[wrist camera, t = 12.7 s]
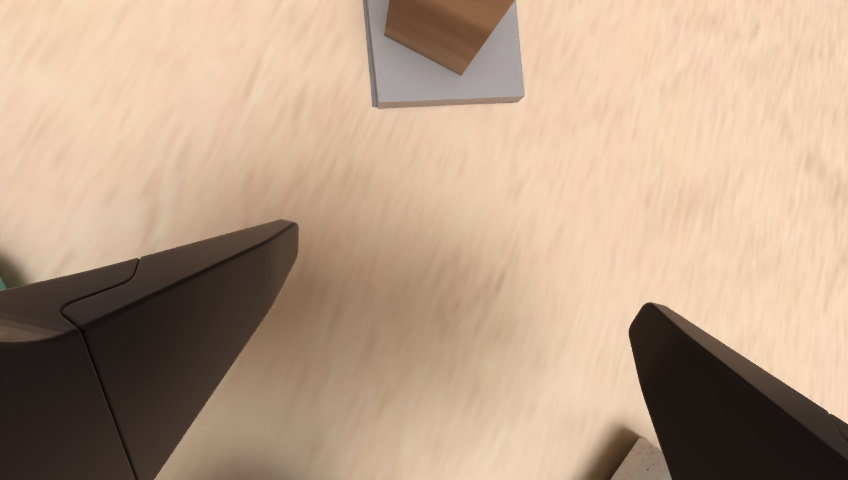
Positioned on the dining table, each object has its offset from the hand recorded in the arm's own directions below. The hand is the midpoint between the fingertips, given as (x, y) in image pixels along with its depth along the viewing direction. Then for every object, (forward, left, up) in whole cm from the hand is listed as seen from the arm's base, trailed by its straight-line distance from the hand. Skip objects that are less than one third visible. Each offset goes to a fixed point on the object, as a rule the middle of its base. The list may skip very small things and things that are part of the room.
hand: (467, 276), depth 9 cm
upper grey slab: (+3, +13, -13) cm, 19 cm away
